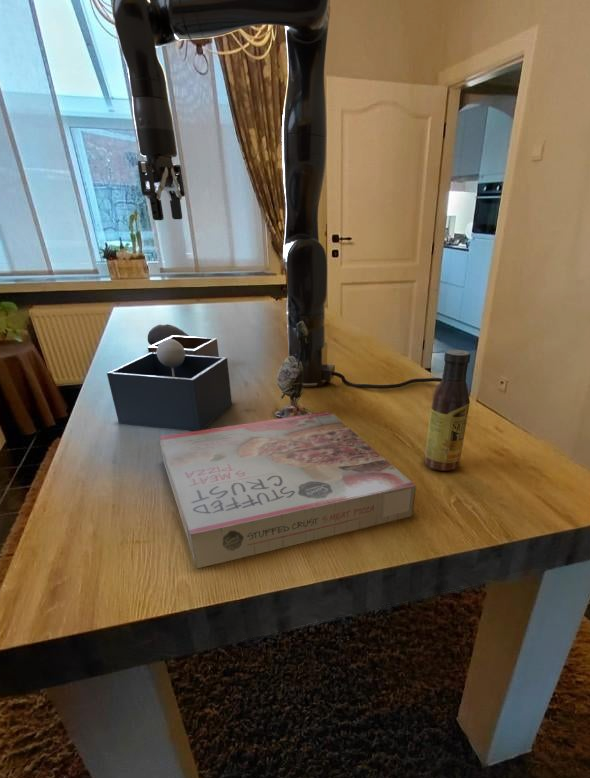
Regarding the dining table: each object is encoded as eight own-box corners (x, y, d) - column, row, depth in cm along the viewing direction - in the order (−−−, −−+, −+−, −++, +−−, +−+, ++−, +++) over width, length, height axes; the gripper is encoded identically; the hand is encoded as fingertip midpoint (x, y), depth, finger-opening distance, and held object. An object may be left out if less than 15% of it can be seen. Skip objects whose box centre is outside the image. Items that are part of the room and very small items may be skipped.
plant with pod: (305, 404, 114) (303, 313, 103) (316, 422, 105) (315, 324, 94) (270, 407, 112) (264, 314, 102) (278, 426, 103) (273, 326, 92)
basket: (219, 363, 142) (216, 338, 138) (198, 377, 131) (195, 350, 127) (176, 360, 145) (172, 335, 141) (152, 373, 133) (147, 347, 130)
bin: (232, 403, 114) (227, 357, 108) (200, 431, 100) (192, 380, 95) (159, 397, 117) (150, 352, 112) (118, 423, 104) (106, 373, 98)
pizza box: (329, 411, 96) (415, 485, 71) (329, 436, 99) (412, 516, 74) (158, 436, 85) (190, 534, 60) (164, 464, 88) (196, 568, 63)
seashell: (148, 362, 151) (142, 336, 146) (153, 340, 166) (148, 315, 161) (196, 359, 154) (191, 333, 149) (196, 337, 168) (192, 313, 163)
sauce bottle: (451, 476, 85) (469, 360, 74) (418, 467, 88) (430, 353, 77) (464, 462, 90) (483, 350, 79) (432, 453, 92) (446, 345, 82)
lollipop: (197, 408, 109) (189, 338, 107) (175, 408, 104) (166, 334, 102) (179, 411, 113) (171, 343, 111) (157, 411, 108) (148, 340, 106)
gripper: (153, 123, 95) (168, 221, 103) (187, 132, 107) (198, 219, 115) (118, 124, 96) (135, 220, 105) (156, 132, 108) (168, 218, 117)
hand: (168, 219), depth 110 cm, fingers open, 8 cm apart
